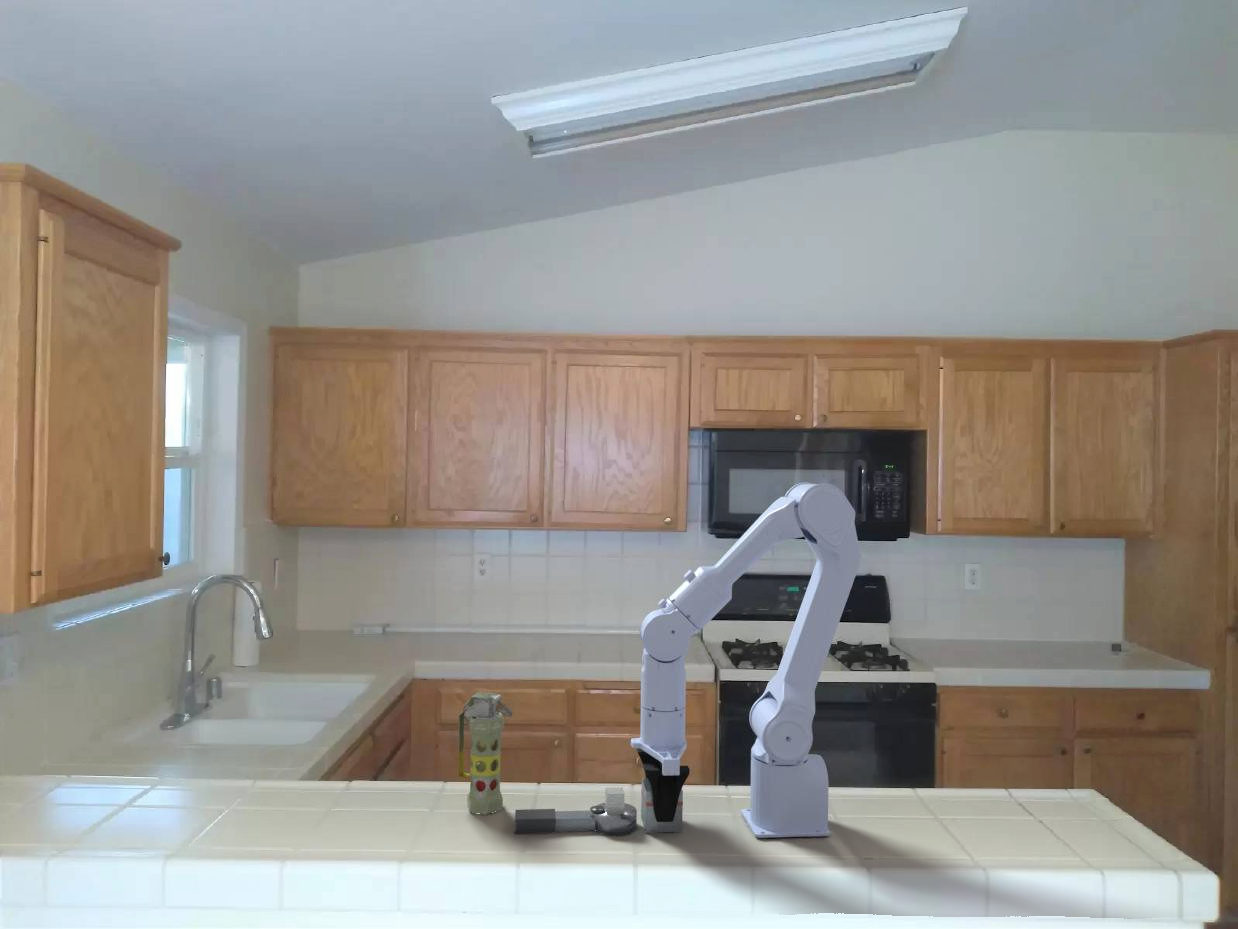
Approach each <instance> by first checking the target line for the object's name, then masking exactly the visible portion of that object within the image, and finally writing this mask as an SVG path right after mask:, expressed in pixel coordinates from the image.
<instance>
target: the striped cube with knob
mask: <svg viewBox="0 0 1238 929" xmlns="http://www.w3.org/2000/svg"><path fill="white" fill-rule="evenodd" d="M640 789H641V798H640V800H641V801H640V802H641V804H640V806H641V807H640V812H641V813H640V818H641V819H642V820H641V822H643V823H642V825H643V826H642V827H643V830H644V831H645V832H646V833H645V832H644V833H645V834H658V833H657V832H674V833H683V811H684V810H683V809H684V801H683V800H684V799H683V797H684V796H683V793H684V790H683V788H682V789H681V792H680V795H679V799H678V804H677V808H676V813H675V817H674V820H673V822H657V821H656V817H655V813H654V807H653V799H652V792H651V787H650V783H649V780H648V778H646V777H641V788H640Z"/></svg>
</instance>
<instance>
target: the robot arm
mask: <svg viewBox="0 0 1238 929" xmlns="http://www.w3.org/2000/svg"><path fill="white" fill-rule="evenodd" d="M855 519H856V511H855V509H854V507H853V506H852V504H851V503H850V501H849V500H848V498H847V497H846V495H845V493H844V492H843V491H842V490H841V489H840V488H838V487H837V486H835V485H833V484H829V483H817V484H816V483H813V482H807V481H806V482H805V481H804V482H800V483H797V484H794V485H793V486H792V487H790V488H789V489H788V490H787V492H786V493H785V494H784V496H781V497H779V498H777V499H776V500H775V501H774V502H772V503H771V505H770V506H769V507H768V508H767V509H766V510H765V511H763V513H762V514H761V515H760V516H759V517H758V518H757V519H756V520H755V521H754V523H752V524H751V525H750V527H749V528H748V529H747V530H746V531H745V532H744V533H743V534H742V535H741V536H740V537H739V538H738V539H737V541H736V542H735V543H734V544H733V545H732V546H731V548H729V549H728V550H727V552H726V553H725V554H724V555H723V556H722V557H721V558H720V559H719V560H718V561H717V563H716V564H714V565H712V566H698V568H697V569H696V570H695V571H694V572H693V570H691V569H689V570H688V571H687V572H686V573H685V574H684V575H683V578H684V579H685V581H684V582H683V583H681V585H680V586H679V587H678V588H676V590H675V591H674V592H672V594H671V595H670V596H669V597H668V598H666V599H665V598H662V599H661V600H660V601H658V604H657V605H658V606H659V609H657V610H655V609H654V610H652V611H651V612H649V613H648V614H647V615H646V616H645V618H644V619H643V621H642V623H641V627H640V628H639V631H638V632H639V637H640V640H641V642H642V643H643V646H644V648H643V653H642V655H641V656H642V657H641V662H642V668H641V670H640V672H641V673H640V734H639V735H640V736H639V737H634V738H633V737H632V738H631V739H630V746H631V747H632V749H636V752H637V754H638V756H639V758H640V761H641V764H642V768H643V772H644V775H645V778H648V780H649V783H650V787H651V792H652V799H653V807H654V813H655V817H656V821H657V822H673V820H674V817H675V813H676V808H677V804H678V799H679V795H680V792H681V789H682V790H683V787H684V784H685V783H686V781H687V779H688V777H689V775H690V772H691V769H690V767H689V765H681V758H682V756H683V754H684V753H685V751H686V749H687V744H688V742H687V739H686V704H687V702H686V695H687V694H686V692H687V691H686V690H687V685H686V684H687V670H686V669H685V662H686V660H685V658H686V657H685V654H686V653H687V652H688V651H689V649H690V647H691V646H690V645H691V640H692V638H691V637H692V636H693V635H696V634H698V633H699V632H700V630H701V631H702V629H703V628H704V627H705V626H706V625H707V624H708V623H709V622H710V621H712V619H713V618H714V617H716V615H717V614H718V613H719V612H720V611H721V610H722V609H723V608H724V607H725V606H726V605H727V604H728V603H729V602H730V601H731V600H732V598H733V584H734V583H735V582H736V581H737V580H739V579H740V578H741V577H742V576H743V575H744V574H745V573H746V572H747V571H749V569H750V568H751V567H752V566H754V565H755V563H757V562H758V561H759V560H760V559H761V558H762V557H763V556H764V555H766V553H768V552H769V551H770V550H771V549H772V548H773V547H775V545H777V544H778V543H779V542H784V541H788V540H795V539H800V538H803V537H804V538H805V540H806V542H807V544H808V546H809V549H811V551H812V553H813V555H814V557H815V559H816V563H815V564H814V567H813V572H812V573H811V577H810V580H809V582H808V585H807V588H806V591H805V593H804V596H803V598H802V601H801V604H800V607H799V611H798V613H797V617H796V619H795V621H794V624H793V627H792V629H791V633H790V635H789V638H788V641H787V642H786V647H785V650H784V652H783V654H782V658H781V661H780V662H779V663H780V664H779V665H778V669H777V672H776V674H775V675H774V676H772V678H771V679H770V680H769V681H768V682H767V685H766V688H765V689H764V692H763V693H762V695H760V697H759V698H758V699H757V700H756V701H755V702H754V703H753V705H752V707H751V709H750V711H749V717H748V718H749V719H748V720H749V725H750V728H751V729H752V732H753V733H754V734H755V735H756V739H755V742H754V743H753V745H752V747H751V749H750V798H749V799H750V802H749V803H750V804H749V806H750V807H749V808H743V809H741V810H740V814H741V815H742V816H743V819H744V821H745V822H746V824H747V825H748V827H749V828H750V830H751V832H752V834H753V835H754V836H755V837H756V838H759V839H761V838H764V839H766V838H797V837H803V838H804V837H805V838H806V837H829V836H830V835H831V832H830V830H829V792H830V791H829V775H828V774H829V773H828V769H827V765H826V762H825V760H824V758H823V757H822V756H821V755H819V754H814V753H813V754H810V750H811V748H812V746H813V741H814V736H813V721H814V717H815V714H816V697H815V695H816V694H815V691H816V688H817V686H818V682H819V680H820V677H821V674H822V671H823V668H824V665H825V663H826V660H827V657H828V654H829V651H830V648H831V645H832V643H833V641H834V638H835V634H836V633H837V628H838V626H839V624H840V620H841V618H842V615H843V612H844V609H845V606H846V603H847V602H848V598H849V596H850V592H851V590H852V588H853V583H854V581H855V578H856V576H857V573H858V570H859V569H860V568H859V567H860V565H861V560H862V556H861V550H860V546H859V545H860V544H859V540H858V535H857V529H856V524H855Z"/></svg>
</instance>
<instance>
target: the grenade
mask: <svg viewBox="0 0 1238 929" xmlns="http://www.w3.org/2000/svg"><path fill="white" fill-rule="evenodd" d="M502 698H503V696H502V695H501V693H500V694H497V693H496V692H494V693H493V692H480V691H479V692H476V693H474V694H473V695H472V696H471V697H470V698H469V699H468V700H467V701H466V702H465V703H464V706H463V707H462V712H461V713H460V714H459V716H458V719H459V720H458V760H457V762H458V768H457V770H458V771H457V774H458V776H457V777H458V778H462V779H463V778H468V777H470V786H469V792H468V794H467V799H466V804H467V808H469V809H468V811H469V813H472V812H473V813H472V814H474V813H480V814H479V815H481V814H485V815H490V814H489V813H492V812H495V811H497V812H499V811H501V810H502V809H503V808H504V806H503V805H504V804H503V802H504V798H503V795H502V793H501V783H500V781H501V751H502V750H501V747H502V746H501V739H502V738H501V737H502V731H503V730H504V728H505V718H504V716H505V717H512V716H513V714H514V713H513V710H511V709H510V707H508V706H506V705H505V704H504V703H503V702H502V701H501V700H502ZM497 705H498V706H500V707H501V709H503V710H500V709H499V708H498V706H497ZM467 717H468V718H467ZM465 723H466V724H467V725H468V729H469V731H470V740H471V742H470V743H471V744H470V745H471V746H470V773H468V772H464V744H465V742H464V736H465V734H464V732H465V727H464V726H465ZM495 813H496V812H495ZM492 814H493V813H492Z"/></svg>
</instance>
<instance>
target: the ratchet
mask: <svg viewBox="0 0 1238 929" xmlns="http://www.w3.org/2000/svg"><path fill="white" fill-rule="evenodd" d="M604 798H605V802H602V803H598V804H597V805H592V806H591V807H589V808H590V809H589V810H561V811H560V810H556V809H555V808H537V809H536V808H533V809H532V808H531V809H530V808H529V809H525V808H524V809H515V813H514V814H515V815H514V834H515V835H522V834H524V835H525V834H526V833H527V835H529V834H532V835H533V834H553V833H552V832H555V833H559V832H558V831H570V832H590V831H589V830H596V831H595V832H596V833H598V832H599V833H598V834H600V833H602V834H601V835H604V834H605V836H610V835H616V836H615V837H617V836H618V835H620V836H625V835H629V834H631V832H632V833H633V832H635V831H636V830H637V821H638V820H637V814H638V811H637V808H636V807H635V806H633V805H631V804H629V803H626V802H625V790H624V787H620V786H619V787H605V796H604Z"/></svg>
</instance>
